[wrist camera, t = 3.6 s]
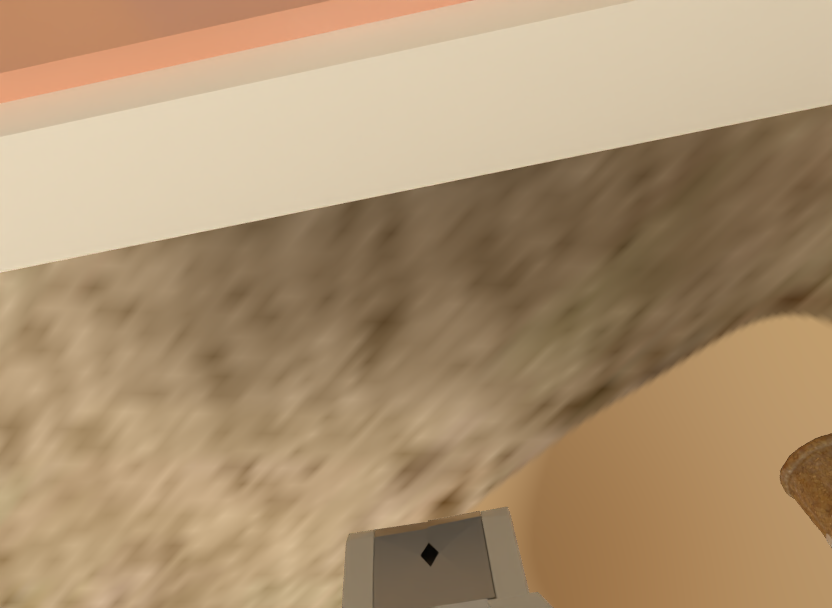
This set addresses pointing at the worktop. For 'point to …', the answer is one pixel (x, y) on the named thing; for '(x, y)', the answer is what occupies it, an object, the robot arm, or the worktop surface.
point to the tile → (354, 100)
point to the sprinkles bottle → (812, 481)
